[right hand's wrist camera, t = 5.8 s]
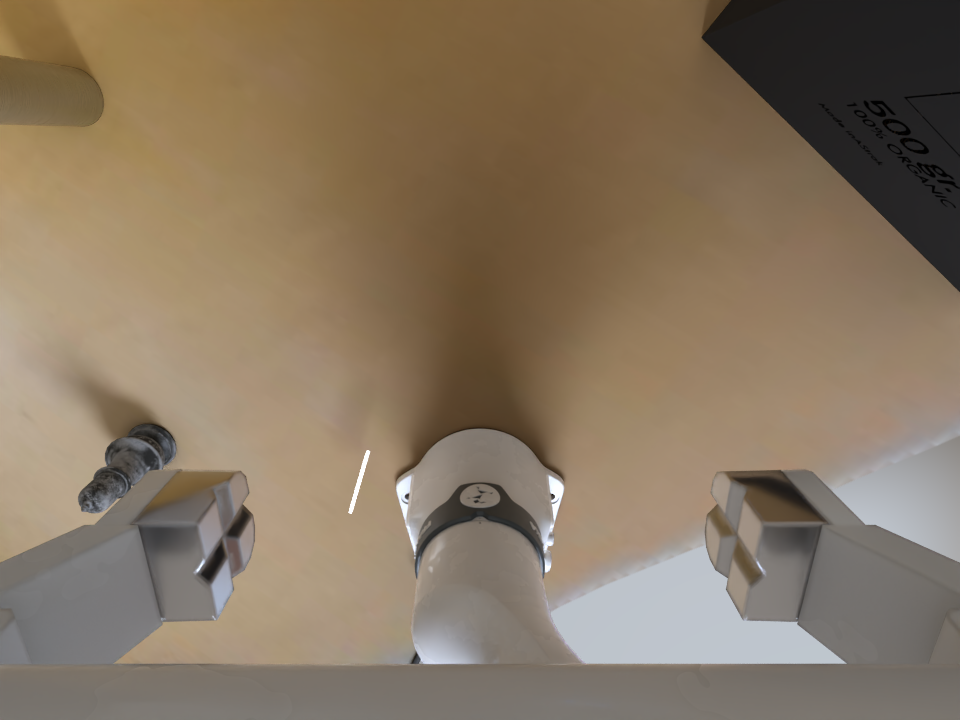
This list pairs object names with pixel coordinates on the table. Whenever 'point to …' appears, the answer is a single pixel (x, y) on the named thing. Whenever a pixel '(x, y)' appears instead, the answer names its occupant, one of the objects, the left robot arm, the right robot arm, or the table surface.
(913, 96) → the black box
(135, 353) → the table surface
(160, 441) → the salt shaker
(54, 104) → the bottle
